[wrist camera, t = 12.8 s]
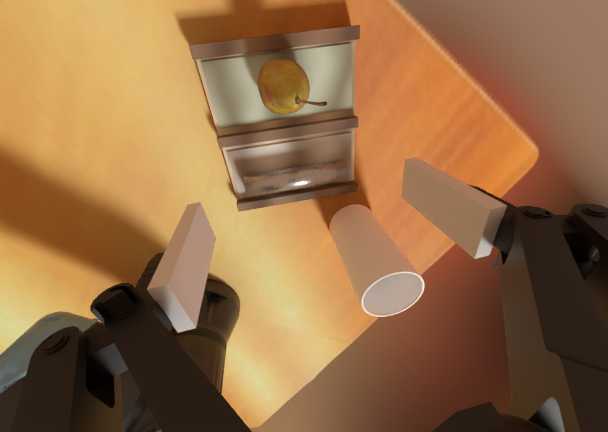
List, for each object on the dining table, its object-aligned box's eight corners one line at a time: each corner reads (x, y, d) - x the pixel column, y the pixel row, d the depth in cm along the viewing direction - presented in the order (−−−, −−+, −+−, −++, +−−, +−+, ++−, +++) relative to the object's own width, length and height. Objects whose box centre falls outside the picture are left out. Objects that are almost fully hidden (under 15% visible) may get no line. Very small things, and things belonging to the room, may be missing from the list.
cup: (328, 208, 41) (362, 279, 27) (374, 200, 41) (430, 265, 28) (330, 245, 45) (360, 322, 32) (372, 237, 46) (419, 309, 32)
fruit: (281, 44, 27) (295, 33, 17) (314, 88, 29) (342, 101, 19) (246, 83, 28) (240, 94, 18) (281, 121, 31) (292, 149, 21)
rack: (239, 202, 37) (238, 211, 35) (194, 46, 27) (188, 45, 24) (351, 183, 39) (357, 190, 37) (351, 27, 28) (359, 24, 26)
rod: (246, 180, 35) (249, 199, 34) (242, 171, 32) (245, 192, 31) (340, 165, 36) (344, 183, 35) (344, 155, 33) (349, 175, 32)
